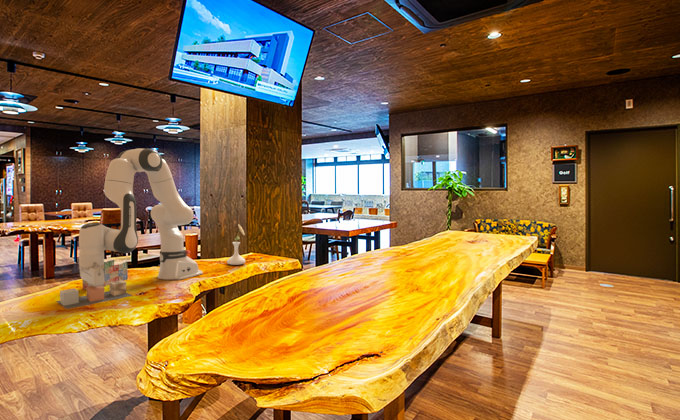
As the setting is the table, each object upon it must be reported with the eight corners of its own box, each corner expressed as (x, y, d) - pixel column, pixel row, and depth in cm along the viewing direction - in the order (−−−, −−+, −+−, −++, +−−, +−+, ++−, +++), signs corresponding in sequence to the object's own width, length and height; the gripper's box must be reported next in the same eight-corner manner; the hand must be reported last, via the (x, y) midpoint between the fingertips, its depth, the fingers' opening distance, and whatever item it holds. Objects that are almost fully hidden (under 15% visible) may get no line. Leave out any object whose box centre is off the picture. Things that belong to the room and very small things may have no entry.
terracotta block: (100, 295, 157) (100, 284, 156) (104, 299, 154) (104, 287, 153) (86, 298, 153) (86, 287, 153) (90, 301, 150) (90, 290, 149)
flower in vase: (239, 266, 221) (240, 226, 219) (223, 265, 223) (223, 225, 222) (250, 262, 233) (250, 223, 232) (234, 261, 236) (234, 223, 234)
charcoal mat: (120, 290, 168) (120, 289, 168) (132, 296, 160) (132, 295, 160) (56, 302, 150) (56, 301, 150) (66, 310, 141) (66, 309, 141)
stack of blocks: (116, 278, 188) (116, 255, 188) (127, 279, 188) (127, 255, 187) (82, 290, 167) (81, 263, 166) (94, 291, 166) (93, 264, 166)
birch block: (122, 290, 166) (121, 280, 165) (126, 293, 163) (126, 282, 162) (109, 293, 162) (109, 282, 162) (114, 295, 159) (113, 284, 158)
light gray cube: (74, 300, 152) (74, 288, 152) (78, 302, 149) (78, 290, 148) (60, 302, 148) (59, 290, 148) (63, 305, 145) (63, 293, 145)
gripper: (108, 263, 150) (108, 296, 151) (93, 256, 164) (93, 286, 165) (90, 266, 146) (91, 299, 146) (76, 258, 159) (76, 289, 160)
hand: (92, 292), depth 156 cm, fingers closed
